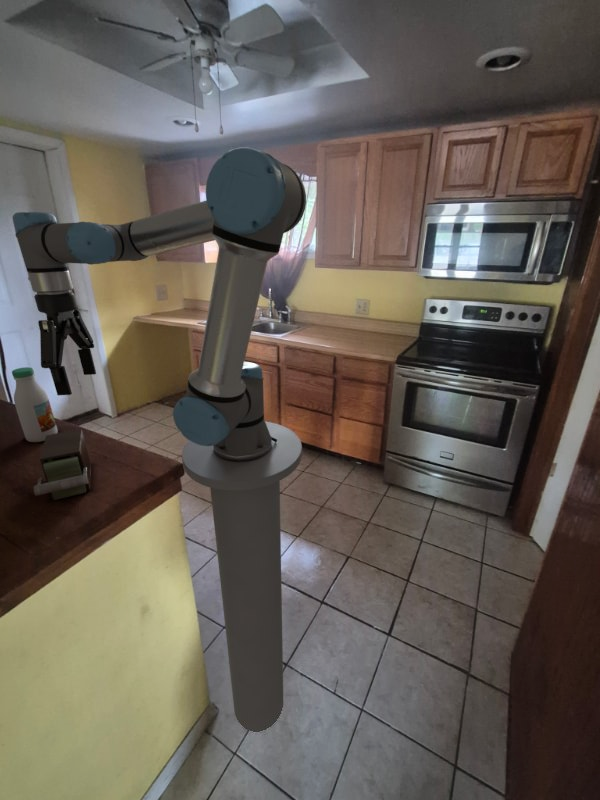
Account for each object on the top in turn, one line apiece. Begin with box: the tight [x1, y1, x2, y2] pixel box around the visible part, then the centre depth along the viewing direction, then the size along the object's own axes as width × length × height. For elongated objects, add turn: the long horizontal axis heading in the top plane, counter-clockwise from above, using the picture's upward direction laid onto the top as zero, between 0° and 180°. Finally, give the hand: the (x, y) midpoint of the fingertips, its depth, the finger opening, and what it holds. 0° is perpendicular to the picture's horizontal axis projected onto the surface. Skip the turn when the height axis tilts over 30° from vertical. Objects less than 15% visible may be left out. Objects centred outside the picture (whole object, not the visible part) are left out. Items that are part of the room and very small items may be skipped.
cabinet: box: [39, 428, 92, 500], centre depth 84 cm, size 11×7×10 cm, turn 27°
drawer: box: [33, 454, 89, 501], centre depth 80 cm, size 16×9×9 cm, turn 27°
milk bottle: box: [11, 366, 59, 443], centre depth 101 cm, size 8×8×20 cm
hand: (78, 383), depth 89 cm, fingers open, 13 cm apart
